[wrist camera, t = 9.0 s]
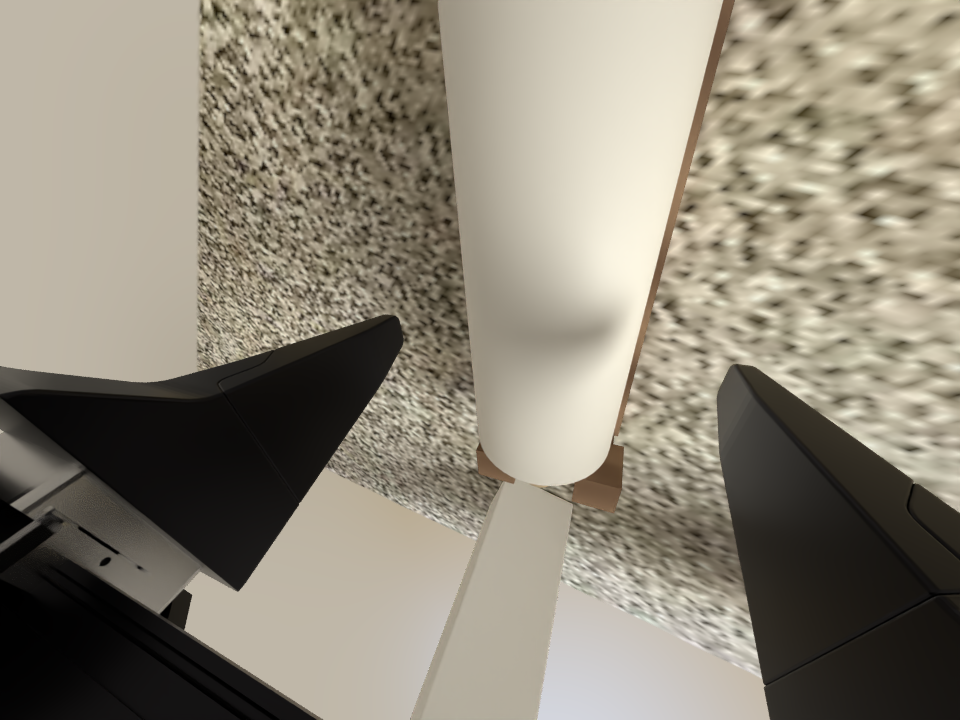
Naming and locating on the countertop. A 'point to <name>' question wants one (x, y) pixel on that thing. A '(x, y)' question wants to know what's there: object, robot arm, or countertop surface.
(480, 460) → the bracket
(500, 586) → the milk
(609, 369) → the kitchen roll
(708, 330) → the countertop surface
